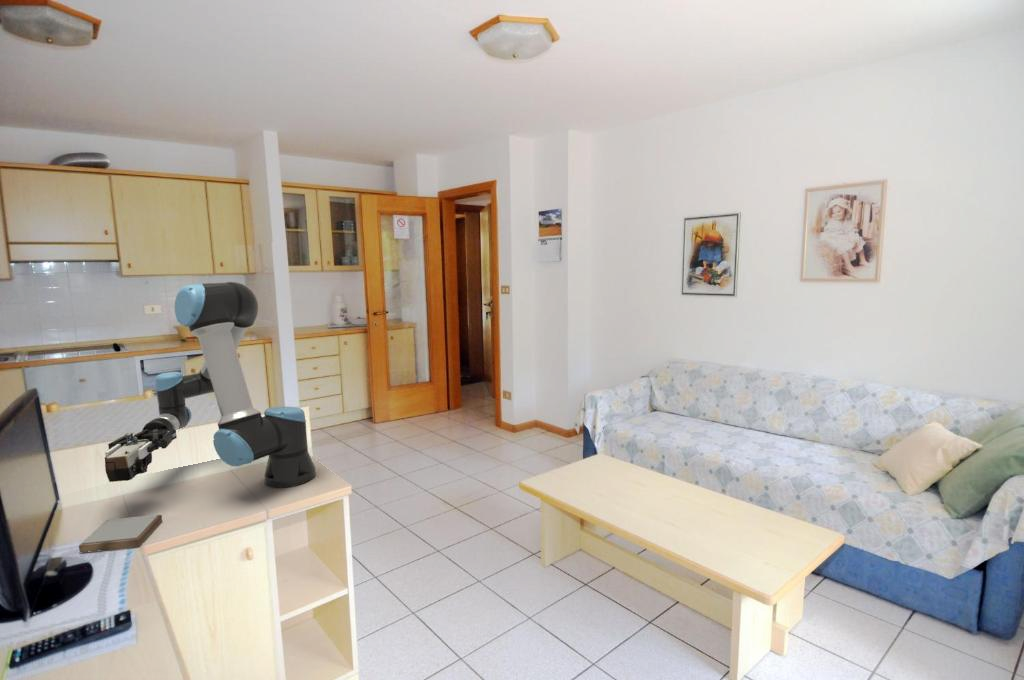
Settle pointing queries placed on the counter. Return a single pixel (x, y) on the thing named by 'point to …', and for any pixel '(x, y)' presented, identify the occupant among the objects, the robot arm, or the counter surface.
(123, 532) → the walnut stand
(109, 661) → the counter surface
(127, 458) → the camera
